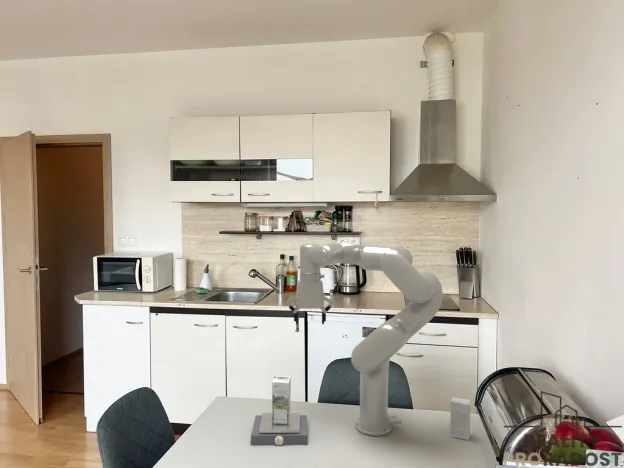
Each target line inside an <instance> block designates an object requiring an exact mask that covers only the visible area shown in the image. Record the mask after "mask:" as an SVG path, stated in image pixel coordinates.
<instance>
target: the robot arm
mask: <svg viewBox="0 0 624 468" xmlns="http://www.w3.org/2000/svg"><path fill="white" fill-rule="evenodd" d="M413 259H414V258H413V255H412V253H411V252H410V250H408V249H407V248H406V247H405V248H404V247H400V246H387V245H384V246H383V245H371V244H370V245H369V244H355V243H343V242H342V243H341V242H336V243H328V244H318V243H303V244H301V245H300V247H299V280H297V285H296V294H295V295H296V296H292V297H291V298H289V299H287V300H286V304H287V307H288V309H289V310H290V311H291V312H292V313H293V322H295V325H299V310H300V309H305V310H306V309H320V310H321V311H322V312H321V324H322V325H325V322H327V313H328V312H329V311H330V310H331V308H332V306H334V305H333V304H334V300H332V299H331V298H328V297H327V296H325V294H324V293H325V292H324V284H323V283H324V282H323V280H321V279H325V274H323V273H321V266H325V267H327V266H332V265H336V264H347V265H355V266H359V267H360V268H361V269H363V270H366V271H378V272H383V273H384V275H385V276H386V277H387V278H388V279H389V281H390V282H391V283H392V284H393V285H394V286H395V287H396V288H397V289H398V291H400V292H401V293H402V294H403V295H404V296H405V298H407V300H409V301H410V302H409V303H408V304H407V305H405V306H404V308H403V309H401V310H400V311H399V312H398V313H397V314H395V315H394V316H393V317H392V318H390V319H388V320H385V321H384V322H383V323H381V324H380V325H378V327H376V328H375V329H374V330H373V331H372V332H371V333H370V334H368V335H367V336H366V337H365V338H364V339H363V340H362V341H360V342H359V343H358V344H357V345H356V346H355V347H354V348H353V350H352V351H351V352H352V353H351V356H350V358H351V359H350V361H351V365H352V366H353V368H354V369H355V370H357V371H358V372H360V373H359V374H360V377H359V379H360V380H359V418H358V419H356V420H355V423H354V424H355V425H354V426H355V428H356V430H357V431H358V432H360V433H361V434H364V435H366V436H371V437H372V436H375V437H381V436H385V435H388V434H390V432H391V431H392V430H393V424H396V425H400V424H402V423H403V422H402V421H403V420H402V418H401V417H397V415H396V414H392V415H391V414H389V412H388V411H389V410H388V407H389V402H388V401H389V398H388V397H389V371H390V368H389V367H390V361H391V358H392V357H393V356H395V355H396V353H398V352H399V351H400V350H401V349H402V348H403V347H404V346H405V345H406V344H407V343H408V342H409V340H410V339H411V338H413V336H414V335H415V334H417V333H418V332H419V331H420V330H422V328H424V327H425V326H426V325H427V324H428V323H430V322H431V320H432V319H433V318H435V316H436V315H437V313H438V311H439V309H440V308H441V306H442V302H443V295H444V293H443V286H442V283H441V281H440V279H439V278H438V277H437V275H435V274H433V273H432V272H419V271H418V270H417V269H416V268H415V267H414V266H413V265H412V264H413V262H414V260H413ZM293 302H296V303H295V304H296V306H295V307H294V306H293V305H292V303H293ZM325 302H326V303H328V304H327V306H326V307H325V306H324V305H325Z"/></svg>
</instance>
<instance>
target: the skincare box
mask: <svg viewBox="0 0 624 468" xmlns="http://www.w3.org/2000/svg"><path fill="white" fill-rule="evenodd" d="M449 424H450V425H449V426H450V432H449V433H450V434H449V436H450V437H451V438H456V439H462V440H466V441H469V440H470V437H471V399H466V398H460V397H456V396H455V397H453V396H452V397H451V399H450V423H449Z"/></svg>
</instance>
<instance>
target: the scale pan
mask: <svg viewBox="0 0 624 468" xmlns="http://www.w3.org/2000/svg"><path fill="white" fill-rule="evenodd" d="M290 413H291V417H290V421H289V424H272V412H262V414H261V415H262V418H261V423H260V428H259V433H300V415H301V413H300V412H290Z"/></svg>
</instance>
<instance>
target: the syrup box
mask: <svg viewBox="0 0 624 468" xmlns="http://www.w3.org/2000/svg"><path fill="white" fill-rule="evenodd" d="M291 378H292V377H291V376H290V375H289V376H288V375H274V376H273V378H272V382H271V390H272V391H271V400H272V401H271V413H272V424H289V421H290V417H291V413H292V412H291V394H292V393H291V391H292V390H291V385H292V383H291V382H292V379H291Z"/></svg>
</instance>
